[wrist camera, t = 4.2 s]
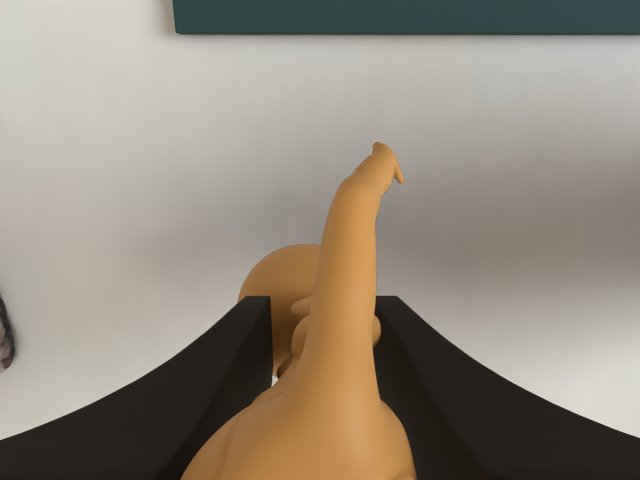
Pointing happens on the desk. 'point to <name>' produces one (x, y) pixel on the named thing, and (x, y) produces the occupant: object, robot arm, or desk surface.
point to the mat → (408, 17)
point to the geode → (5, 340)
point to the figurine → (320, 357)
